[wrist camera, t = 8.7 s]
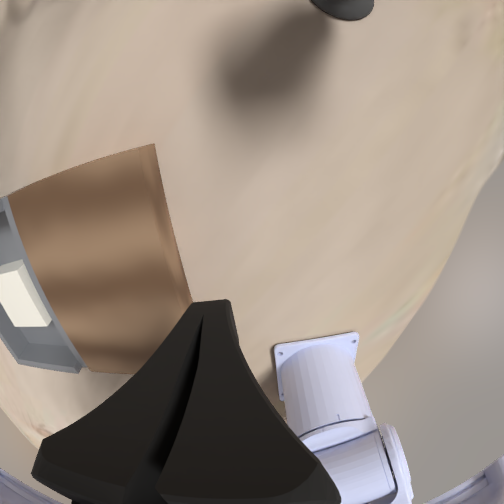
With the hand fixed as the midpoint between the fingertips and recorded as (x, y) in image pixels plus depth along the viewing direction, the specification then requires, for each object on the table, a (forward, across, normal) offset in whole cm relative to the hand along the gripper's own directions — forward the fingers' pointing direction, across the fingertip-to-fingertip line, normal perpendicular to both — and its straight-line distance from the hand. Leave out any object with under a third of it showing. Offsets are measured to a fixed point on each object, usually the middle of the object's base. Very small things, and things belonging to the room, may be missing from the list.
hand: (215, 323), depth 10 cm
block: (+10, +21, +3) cm, 24 cm away
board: (+10, +10, +3) cm, 15 cm away
